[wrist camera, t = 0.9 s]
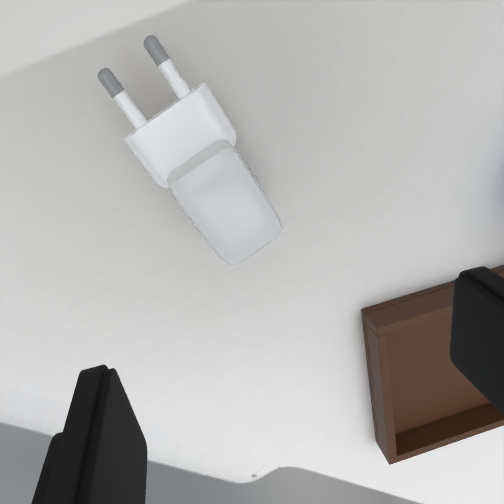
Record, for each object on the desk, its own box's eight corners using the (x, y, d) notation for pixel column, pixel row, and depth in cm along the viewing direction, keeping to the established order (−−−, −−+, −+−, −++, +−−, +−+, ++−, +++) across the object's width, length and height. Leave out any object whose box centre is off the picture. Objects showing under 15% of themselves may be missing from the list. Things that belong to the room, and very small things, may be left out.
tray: (360, 309, 31) (376, 328, 29) (540, 253, 32) (569, 268, 30) (375, 441, 38) (389, 465, 36) (522, 391, 39) (545, 411, 37)
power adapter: (92, 82, 21) (68, 86, 16) (167, 28, 21) (168, 14, 15) (210, 239, 26) (222, 281, 21) (272, 198, 26) (300, 230, 20)
